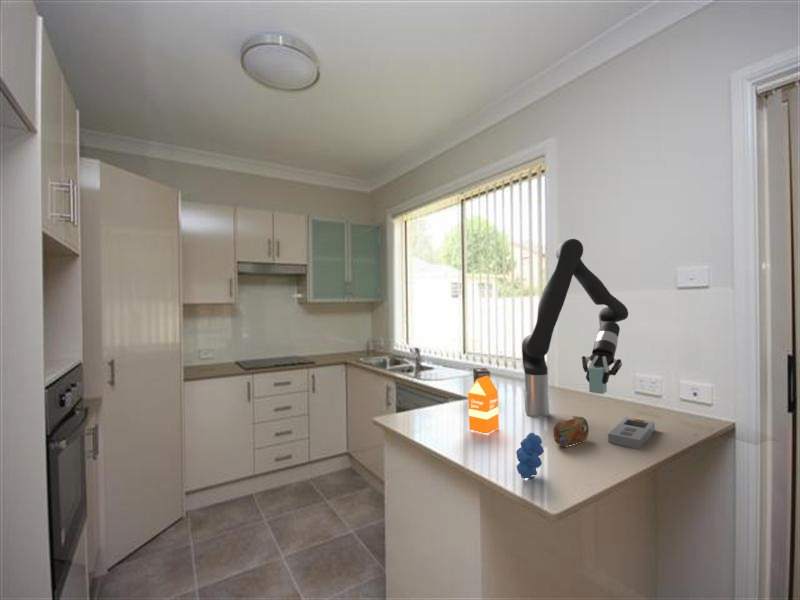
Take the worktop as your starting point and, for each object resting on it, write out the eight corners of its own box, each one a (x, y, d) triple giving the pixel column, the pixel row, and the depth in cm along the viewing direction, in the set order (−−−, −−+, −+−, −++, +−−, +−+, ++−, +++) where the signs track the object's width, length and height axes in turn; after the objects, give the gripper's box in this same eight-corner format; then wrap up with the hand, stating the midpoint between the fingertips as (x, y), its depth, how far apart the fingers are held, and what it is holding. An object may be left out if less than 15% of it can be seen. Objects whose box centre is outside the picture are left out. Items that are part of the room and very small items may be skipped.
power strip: (640, 449, 116) (639, 438, 116) (608, 442, 122) (608, 431, 122) (654, 430, 131) (654, 420, 131) (626, 424, 137) (625, 415, 137)
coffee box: (474, 401, 176) (472, 368, 176) (487, 400, 176) (486, 367, 176) (477, 406, 167) (476, 371, 167) (491, 406, 167) (490, 371, 167)
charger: (589, 392, 135) (588, 367, 135) (593, 389, 138) (592, 365, 138) (602, 394, 132) (602, 368, 132) (606, 391, 135) (606, 366, 135)
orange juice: (469, 431, 137) (467, 378, 137) (481, 425, 143) (479, 374, 143) (487, 436, 131) (485, 380, 131) (499, 429, 138) (497, 376, 138)
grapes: (527, 465, 108) (526, 425, 108) (549, 473, 102) (548, 430, 102) (505, 479, 100) (503, 435, 100) (528, 488, 95) (526, 442, 95)
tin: (559, 449, 118) (558, 423, 118) (551, 446, 121) (550, 421, 121) (590, 440, 125) (589, 415, 125) (581, 437, 127) (580, 413, 127)
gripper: (583, 338, 145) (572, 373, 137) (624, 340, 135) (615, 378, 127) (588, 349, 149) (578, 384, 141) (628, 352, 139) (620, 390, 130)
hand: (596, 381), depth 134 cm, fingers closed on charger, 4 cm apart
